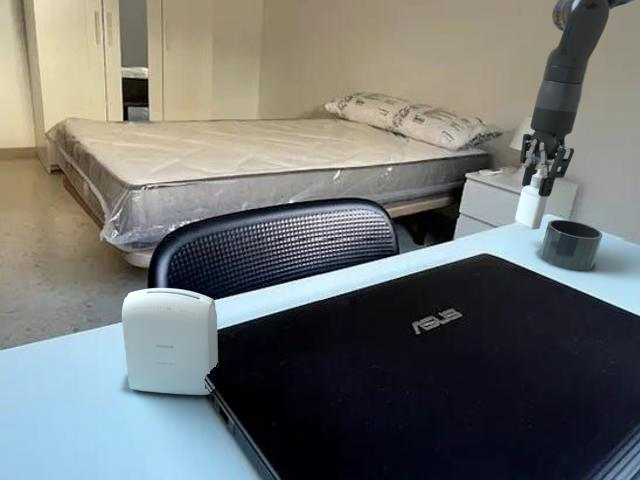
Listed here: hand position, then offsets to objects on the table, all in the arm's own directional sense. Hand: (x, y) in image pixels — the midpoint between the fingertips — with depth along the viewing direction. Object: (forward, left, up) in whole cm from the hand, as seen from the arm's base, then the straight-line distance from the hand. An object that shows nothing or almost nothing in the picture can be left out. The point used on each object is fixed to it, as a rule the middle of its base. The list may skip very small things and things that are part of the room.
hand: (535, 190), depth 101 cm
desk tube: (-6, +7, -12) cm, 15 cm away
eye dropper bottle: (0, 0, -8) cm, 8 cm away
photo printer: (+67, +40, -13) cm, 79 cm away
